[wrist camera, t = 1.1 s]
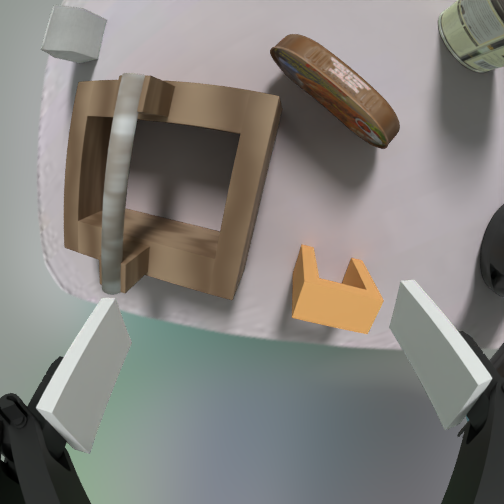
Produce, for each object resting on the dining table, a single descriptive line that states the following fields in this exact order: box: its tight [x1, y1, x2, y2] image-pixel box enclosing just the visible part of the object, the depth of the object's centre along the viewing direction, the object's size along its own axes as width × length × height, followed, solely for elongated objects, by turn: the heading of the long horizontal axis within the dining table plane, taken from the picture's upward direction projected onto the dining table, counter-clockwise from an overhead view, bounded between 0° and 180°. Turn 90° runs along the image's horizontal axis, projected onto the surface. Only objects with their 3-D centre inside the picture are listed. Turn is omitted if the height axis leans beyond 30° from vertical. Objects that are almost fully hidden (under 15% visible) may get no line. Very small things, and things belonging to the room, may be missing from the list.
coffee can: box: [438, 0, 504, 73], centre depth 14 cm, size 10×10×14 cm
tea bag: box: [41, 5, 107, 63], centre depth 23 cm, size 4×7×10 cm, turn 173°
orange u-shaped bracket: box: [292, 245, 384, 334], centre depth 30 cm, size 8×4×10 cm, turn 77°
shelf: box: [64, 73, 282, 300], centre depth 27 cm, size 22×20×14 cm
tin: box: [270, 34, 400, 149], centre depth 24 cm, size 15×3×8 cm, turn 50°
